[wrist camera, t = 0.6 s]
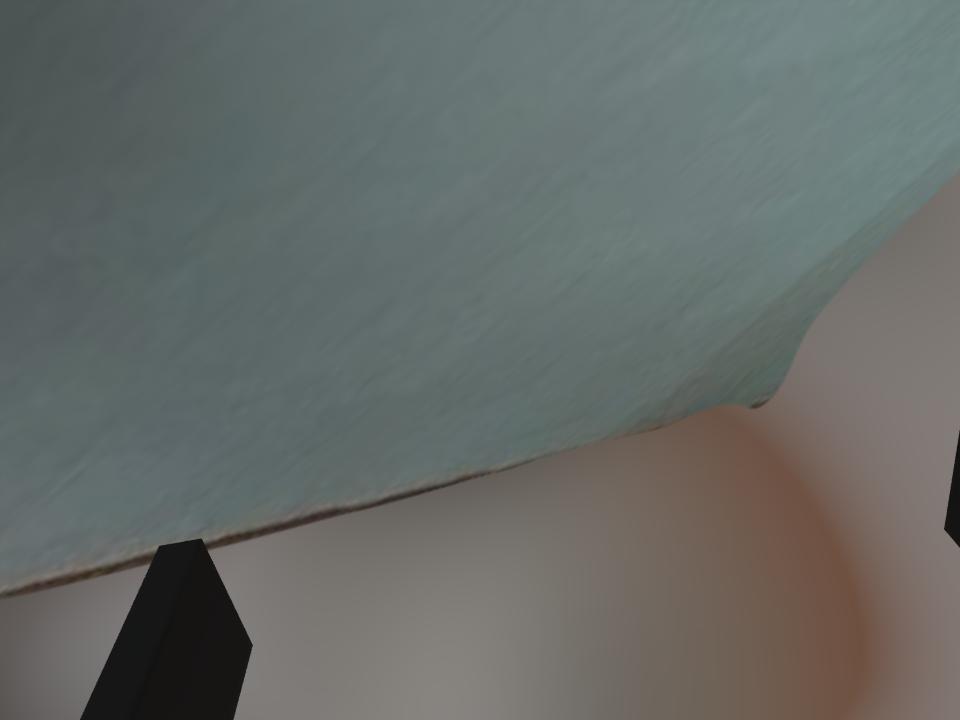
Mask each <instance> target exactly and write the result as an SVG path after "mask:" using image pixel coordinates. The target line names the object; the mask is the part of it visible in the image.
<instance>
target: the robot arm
mask: <svg viewBox="0 0 960 720" xmlns="http://www.w3.org/2000/svg"><path fill="white" fill-rule="evenodd" d="M944 530H945V531H946V532H947V533H948V534H949V535H950V537H951V538H952V539H953V540H954V541H955V543H956V544H957V545H958V546H959V547H960V432H959V438H958V445H957V451H956V457H955V464H954V470H953V476H952V483H951V489H950V495H949V502H948V508H947V515H946V521H945V527H944ZM252 646H253V645H252V643H251V641H250V638H249V636H248V635H247V632H246V630H245V628H244V626H243V624H242V622H241V620H240V618H239V616H238V613H237V611H236V609H235V607H234V605H233V603H232V601H231V599H230V597H229V595H228V593H227V590H226V588H225V586H224V584H223V582H222V580H221V578H220V576H219V574H218V572H217V570H216V567H215V565H214V563H213V561H212V559H211V557H210V555H209V553H208V551H207V549H206V547H205V545H204V542H203V540H202V539H196V540H190V541H185V542H179V543H173V544H167V545H162V546H159V548H158V550H157V552H156V554H155V556H154V558H153V561H152V563H151V565H150V567H149V569H148V572H147V574H146V577H145V578H144V580H143V583H142V585H141V587H140V589H139V591H138V594H137V596H136V598H135V600H134V602H133V605H132V607H131V609H130V611H129V613H128V615H127V618H126V620H125V622H124V624H123V626H122V629H121V631H120V633H119V636H118V637H117V640H116V642H115V644H114V646H113V649H112V651H111V653H110V655H109V657H108V660H107V662H106V664H105V666H104V668H103V670H102V673H101V675H100V677H99V679H98V681H97V684H96V686H95V688H94V690H93V692H92V694H91V697H90V699H89V701H88V703H87V706H86V708H85V710H84V712H83V714H82V716H81V719H80V720H233V719H234V715H235V711H236V707H237V703H238V700H239V696H240V692H241V688H242V684H243V681H244V677H245V673H246V669H247V665H248V662H249V657H250V654H251V650H252Z"/></svg>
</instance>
